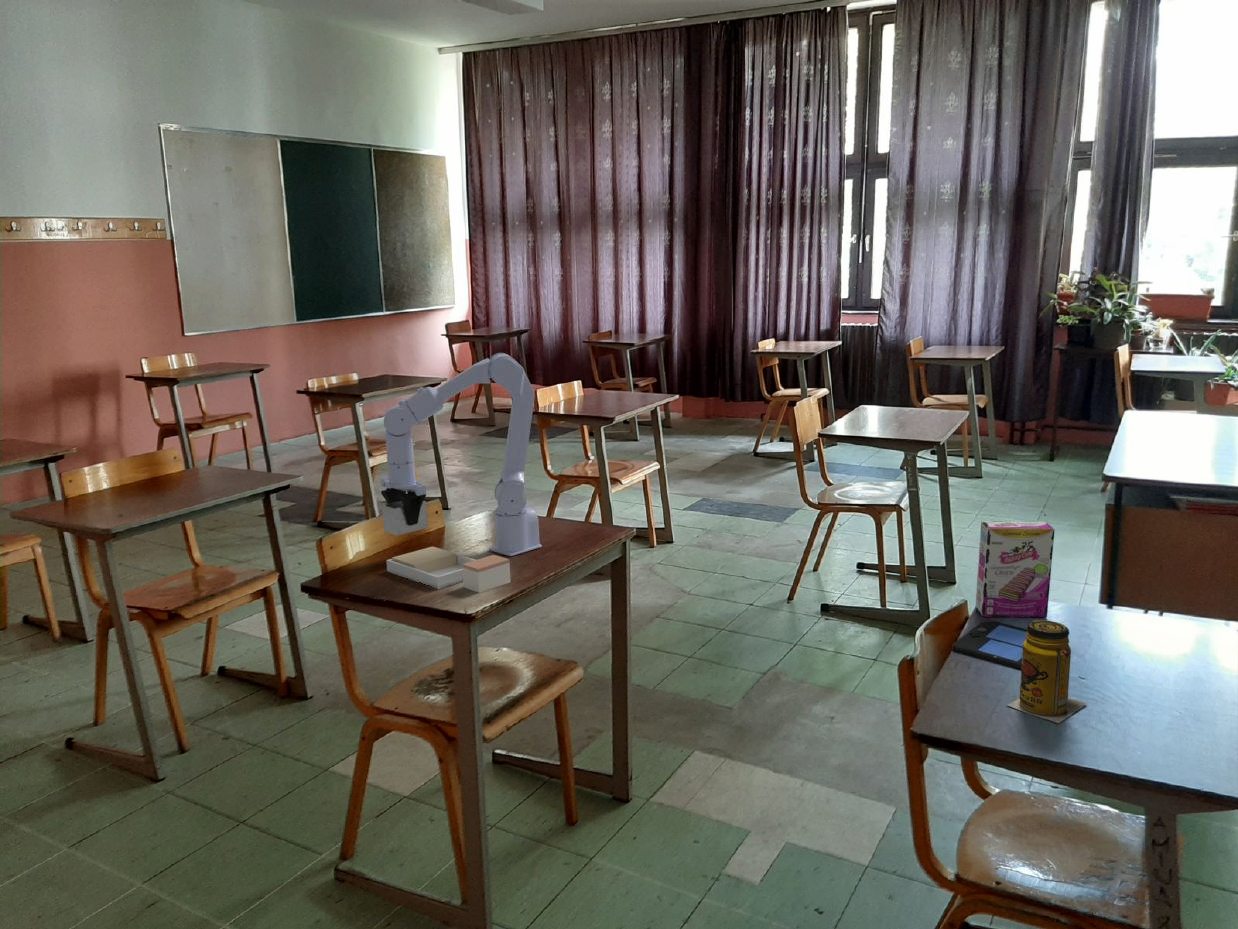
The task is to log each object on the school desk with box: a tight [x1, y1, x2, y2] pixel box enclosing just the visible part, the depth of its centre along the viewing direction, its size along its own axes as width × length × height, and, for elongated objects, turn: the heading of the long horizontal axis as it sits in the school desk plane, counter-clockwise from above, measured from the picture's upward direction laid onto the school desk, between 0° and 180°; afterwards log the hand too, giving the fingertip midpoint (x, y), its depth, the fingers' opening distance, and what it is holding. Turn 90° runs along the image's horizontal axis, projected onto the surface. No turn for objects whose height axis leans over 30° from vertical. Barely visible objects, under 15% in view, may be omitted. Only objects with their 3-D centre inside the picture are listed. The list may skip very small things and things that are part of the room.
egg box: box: [462, 554, 512, 594], centre depth 185 cm, size 8×5×5 cm, turn 137°
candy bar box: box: [975, 520, 1056, 618], centre depth 161 cm, size 11×5×16 cm, turn 84°
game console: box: [951, 620, 1027, 671], centre depth 147 cm, size 14×13×2 cm
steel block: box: [381, 500, 429, 537], centre depth 203 cm, size 8×5×6 cm, turn 136°
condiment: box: [1007, 619, 1088, 724], centre depth 127 cm, size 7×8×12 cm
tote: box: [385, 546, 476, 590], centre depth 194 cm, size 12×18×3 cm
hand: (405, 522), depth 203 cm, fingers closed on steel block, 5 cm apart
